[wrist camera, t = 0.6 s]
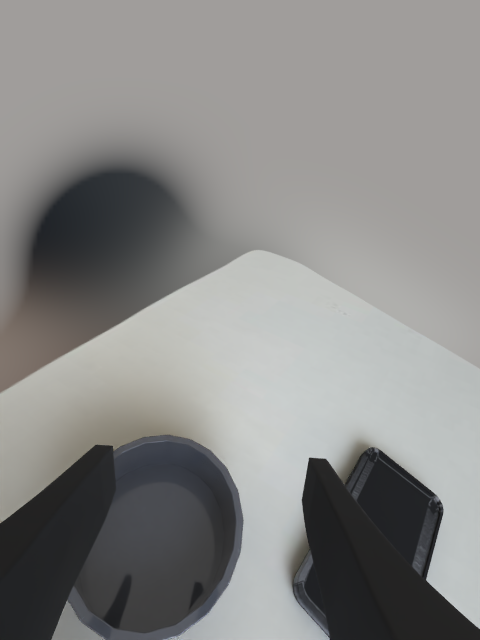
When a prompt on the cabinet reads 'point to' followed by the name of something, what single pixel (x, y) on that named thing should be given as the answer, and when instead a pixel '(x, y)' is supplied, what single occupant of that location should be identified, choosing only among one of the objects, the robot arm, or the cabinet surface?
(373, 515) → the phone
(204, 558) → the holder
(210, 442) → the cabinet surface
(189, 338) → the cabinet surface
